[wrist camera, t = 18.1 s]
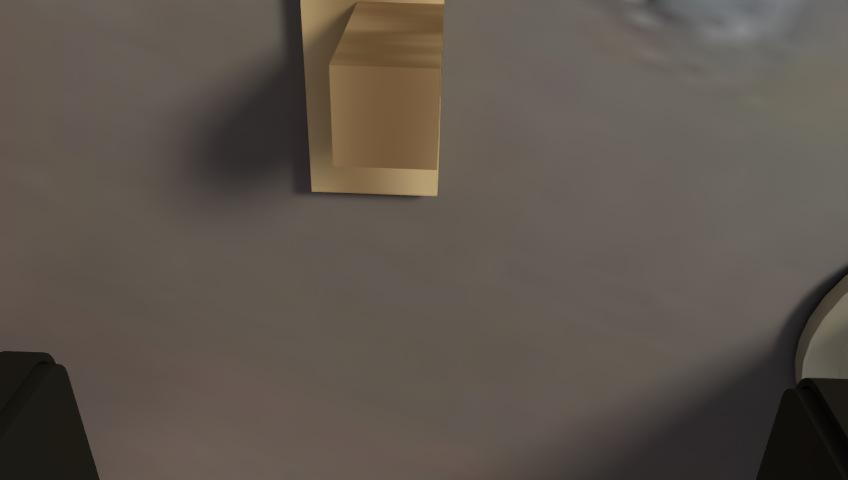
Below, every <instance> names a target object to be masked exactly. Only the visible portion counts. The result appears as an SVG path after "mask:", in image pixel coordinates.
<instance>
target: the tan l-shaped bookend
mask: <svg viewBox="0 0 848 480" xmlns="http://www.w3.org/2000/svg"><path fill="white" fill-rule="evenodd" d="M300 3H301V19H302V36H303V53H304V70H305V87H306V104H307V120H308V137H309V154H310V171H311V188H312V192H339V193H366V194H394V195H421V196H437V190H438V163H439V135H440V107H441V78H442V50H443V22H444V0H300Z"/></svg>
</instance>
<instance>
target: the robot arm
mask: <svg viewBox="0 0 848 480" xmlns="http://www.w3.org/2000/svg"><path fill="white" fill-rule="evenodd" d="M795 380H796V383H797V387H796V389H787V390H786V391H785V392H784V394H783V396H782V399H781V402H780V405H779V409H778V412H777V415H776V418H775V421H774V424H773V428H772V431H771V434H770V437H769V440H768V444H767V447H766V450H765V453H764V456H763V459H762V463H761V466H760V469H759V472H758V475H757V478H756V480H848V274H847V275H846V276H845V277H844V278H843V279H842V280H841V281H840V282H839V283H838V284H837V285H836V286H835V287H834V288H833V289H832V290H831V291H830V292H829V293H828V294H827V295H826V296H825V297H824V298H823V300H822V301H821V302H820V304H819V305H818V306H817V308H816V309H815V311H814V312H813V313H812V315H811V316H810V318H809V320H808V322H807V324H806V326H805V328H804V330H803V332H802V335H801V337H800V339H799V343H798V348H797V352H796V357H795ZM0 480H100V479H99V476H98V473H97V470H96V466H95V463H94V460H93V456H92V453H91V450H90V446H89V443H88V440H87V436H86V433H85V430H84V426H83V423H82V420H81V416H80V413H79V410H78V407H77V403H76V400H75V397H74V393H73V390H72V387H71V383H70V380H69V377H68V373H67V371H66V369H65V367H64V366H63V365H60V364H56V363H55V361H54V359H53V357H52V356H51V355H50V354H48V353H43V352H13V351H3V352H0Z"/></svg>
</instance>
